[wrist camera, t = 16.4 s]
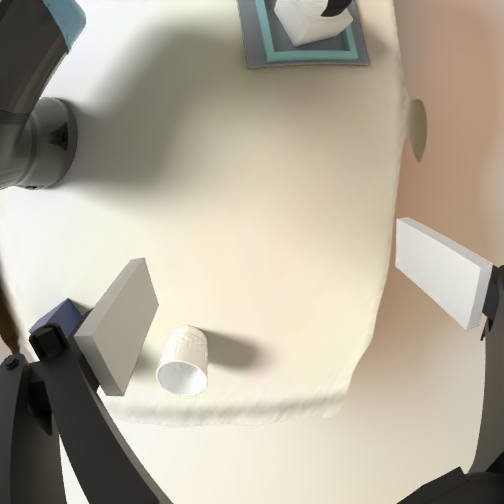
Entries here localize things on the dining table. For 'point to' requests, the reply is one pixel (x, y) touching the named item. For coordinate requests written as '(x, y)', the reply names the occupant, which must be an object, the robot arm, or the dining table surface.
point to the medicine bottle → (313, 19)
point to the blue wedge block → (61, 318)
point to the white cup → (184, 362)
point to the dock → (282, 49)
